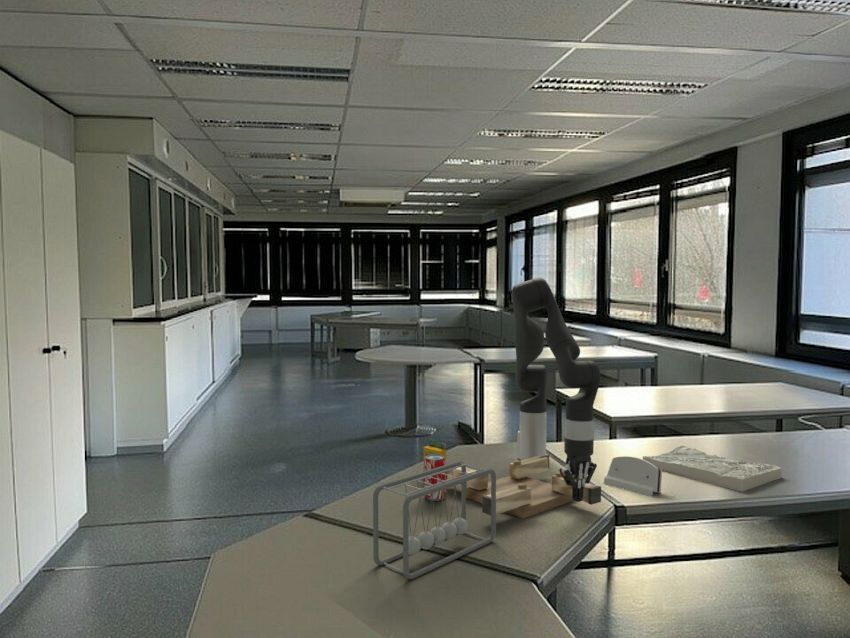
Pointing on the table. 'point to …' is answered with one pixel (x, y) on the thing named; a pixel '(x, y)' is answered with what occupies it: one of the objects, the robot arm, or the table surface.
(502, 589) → the table surface
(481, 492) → the stool seat
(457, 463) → the newton's cradle
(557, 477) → the stool leg
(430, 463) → the soda can
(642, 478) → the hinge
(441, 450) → the crayon box
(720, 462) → the topographic model
